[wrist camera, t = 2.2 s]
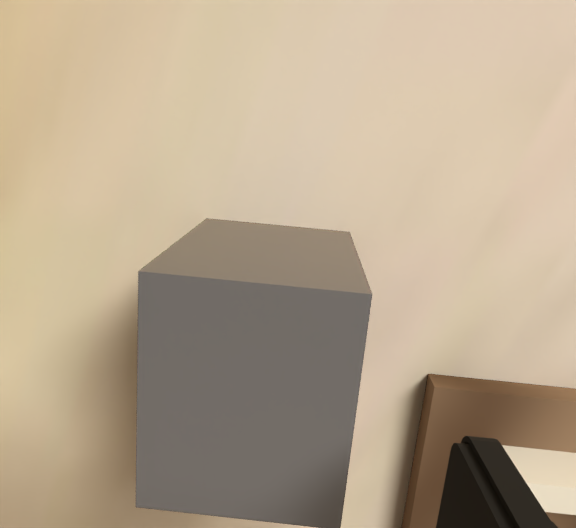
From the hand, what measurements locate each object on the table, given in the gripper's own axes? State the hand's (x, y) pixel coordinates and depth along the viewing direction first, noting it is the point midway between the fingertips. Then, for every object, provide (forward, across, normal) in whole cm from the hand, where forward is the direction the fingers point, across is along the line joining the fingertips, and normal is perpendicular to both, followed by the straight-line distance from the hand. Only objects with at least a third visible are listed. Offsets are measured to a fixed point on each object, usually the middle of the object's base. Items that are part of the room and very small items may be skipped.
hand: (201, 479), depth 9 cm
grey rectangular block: (+9, -1, 0) cm, 9 cm away
